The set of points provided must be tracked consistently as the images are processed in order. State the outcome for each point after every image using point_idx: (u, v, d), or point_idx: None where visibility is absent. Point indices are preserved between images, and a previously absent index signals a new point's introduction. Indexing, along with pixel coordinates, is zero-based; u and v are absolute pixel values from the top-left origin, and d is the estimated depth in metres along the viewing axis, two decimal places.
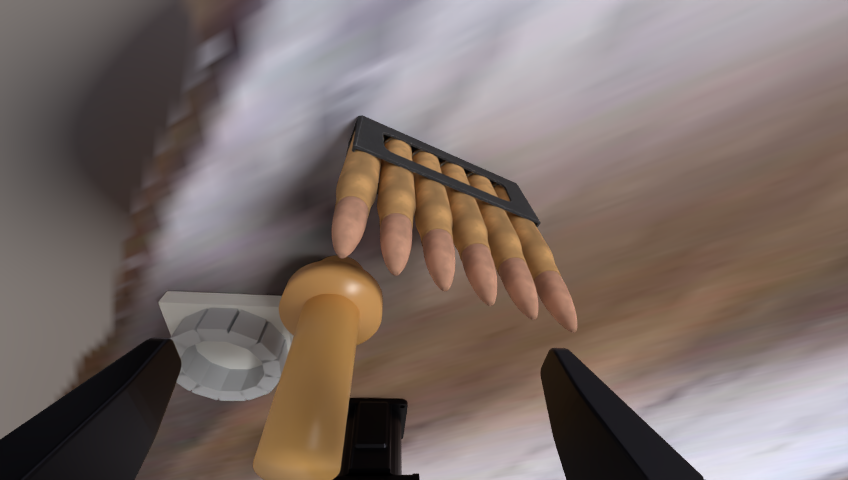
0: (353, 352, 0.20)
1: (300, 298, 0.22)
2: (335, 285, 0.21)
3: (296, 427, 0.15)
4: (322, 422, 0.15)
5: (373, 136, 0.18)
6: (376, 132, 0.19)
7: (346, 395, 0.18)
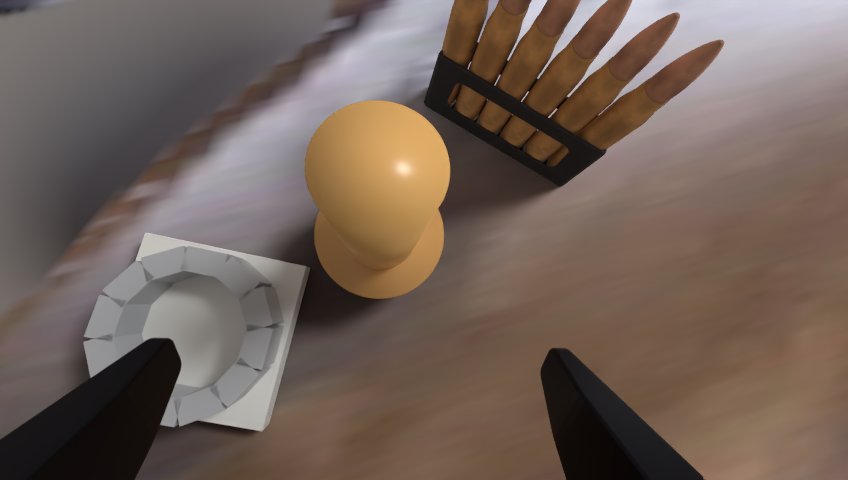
0: None
1: None
2: None
3: None
4: None
5: None
6: None
7: None
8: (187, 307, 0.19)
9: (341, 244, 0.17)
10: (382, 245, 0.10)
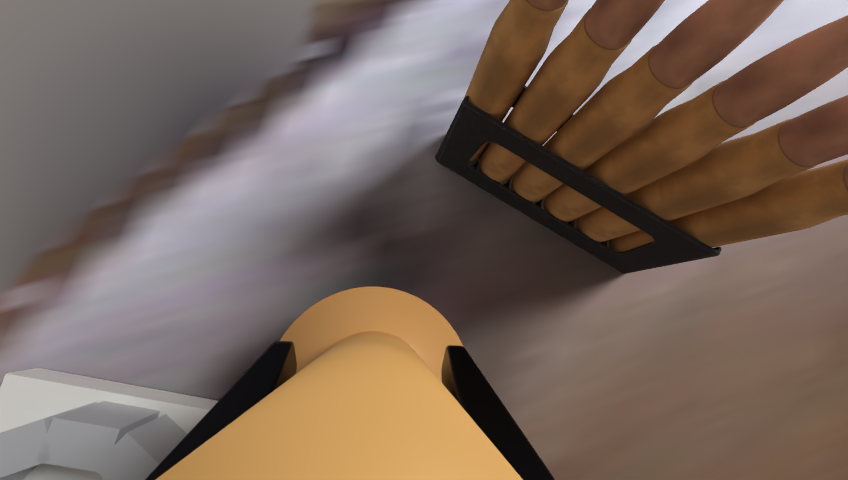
0: None
1: (323, 337, 0.11)
2: (398, 313, 0.11)
3: (383, 385, 0.03)
4: (472, 421, 0.04)
5: None
6: None
7: None
8: None
9: None
10: None
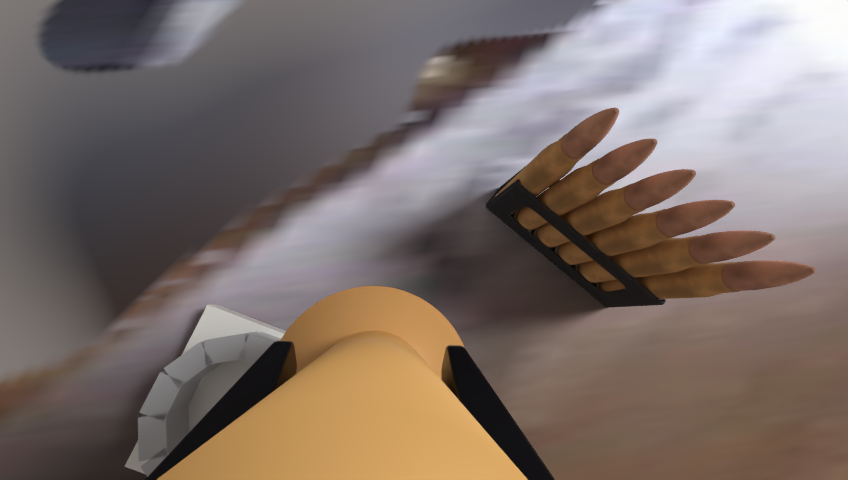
0: None
1: (324, 336, 0.11)
2: (398, 313, 0.12)
3: (386, 383, 0.03)
4: (474, 420, 0.04)
5: None
6: None
7: None
8: None
9: None
10: None
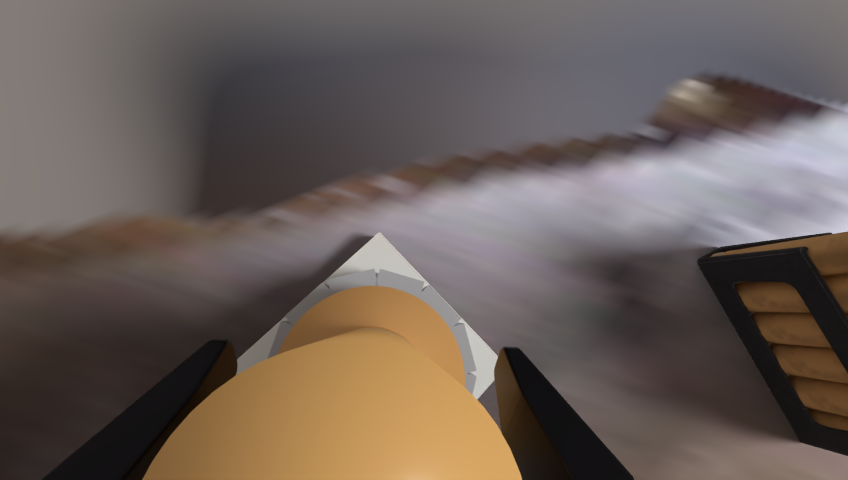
0: None
1: (327, 332, 0.12)
2: (396, 310, 0.12)
3: (376, 340, 0.04)
4: None
5: None
6: None
7: None
8: None
9: None
10: None
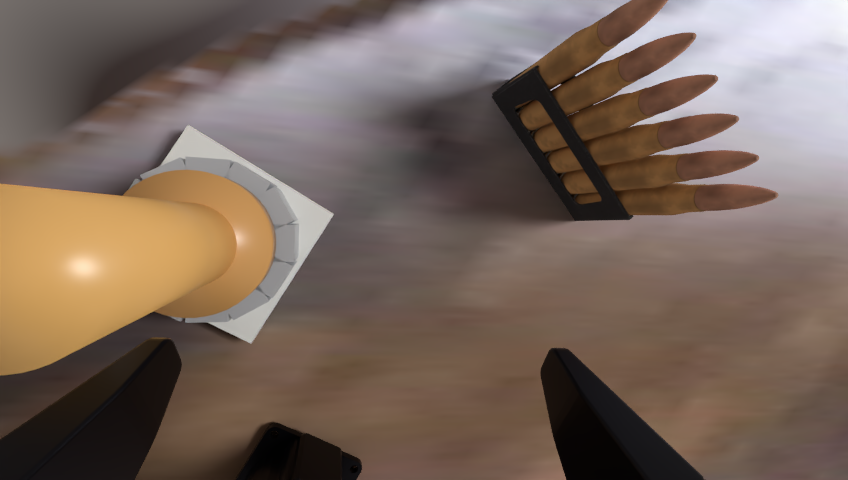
0: (208, 236, 0.13)
1: None
2: (195, 187, 0.15)
3: None
4: (87, 199, 0.08)
5: None
6: None
7: (171, 236, 0.10)
8: None
9: None
10: None
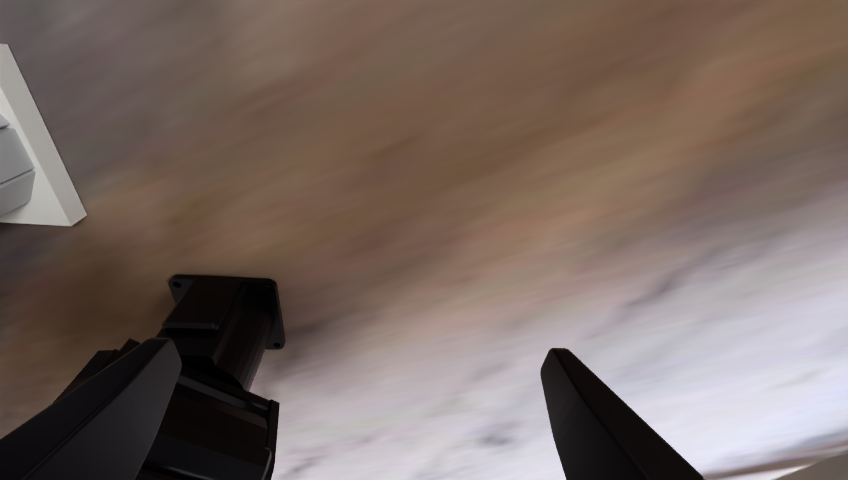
0: None
1: None
2: None
3: None
4: None
5: None
6: None
7: None
8: None
9: None
10: None
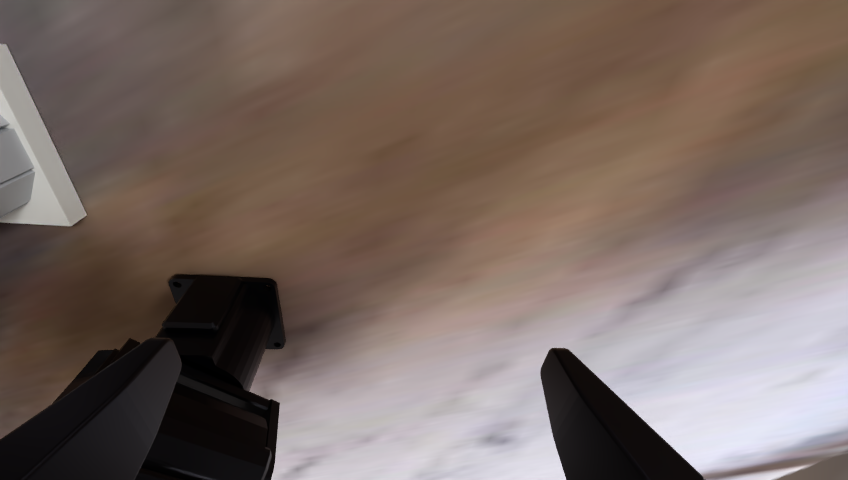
0: None
1: None
2: None
3: None
4: None
5: None
6: None
7: None
8: None
9: None
10: None
